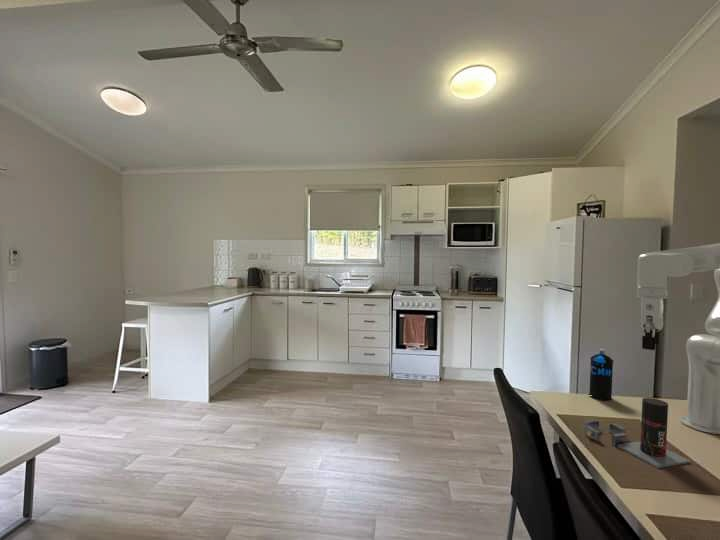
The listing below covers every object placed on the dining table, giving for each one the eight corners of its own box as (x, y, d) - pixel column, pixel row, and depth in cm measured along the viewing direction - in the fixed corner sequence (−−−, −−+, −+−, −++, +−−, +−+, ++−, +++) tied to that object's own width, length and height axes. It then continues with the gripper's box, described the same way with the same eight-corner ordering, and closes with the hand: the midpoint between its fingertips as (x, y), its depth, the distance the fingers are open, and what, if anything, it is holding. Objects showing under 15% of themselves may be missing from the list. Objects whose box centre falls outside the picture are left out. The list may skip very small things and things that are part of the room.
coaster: (647, 442, 117) (647, 440, 117) (690, 462, 106) (690, 460, 106) (617, 446, 114) (617, 444, 114) (657, 468, 102) (657, 466, 102)
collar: (605, 427, 127) (605, 418, 127) (636, 442, 117) (637, 433, 117) (574, 431, 124) (575, 422, 124) (604, 447, 113) (604, 437, 113)
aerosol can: (590, 392, 161) (592, 346, 160) (613, 397, 155) (615, 349, 155) (587, 397, 154) (588, 349, 154) (610, 402, 149) (613, 353, 148)
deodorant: (656, 458, 106) (659, 406, 106) (635, 448, 112) (637, 399, 111) (670, 455, 108) (673, 404, 108) (649, 445, 114) (651, 396, 113)
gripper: (664, 296, 110) (663, 353, 110) (669, 291, 122) (668, 343, 123) (633, 294, 115) (631, 349, 116) (640, 289, 127) (639, 339, 128)
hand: (650, 346), depth 119 cm, fingers open, 9 cm apart
